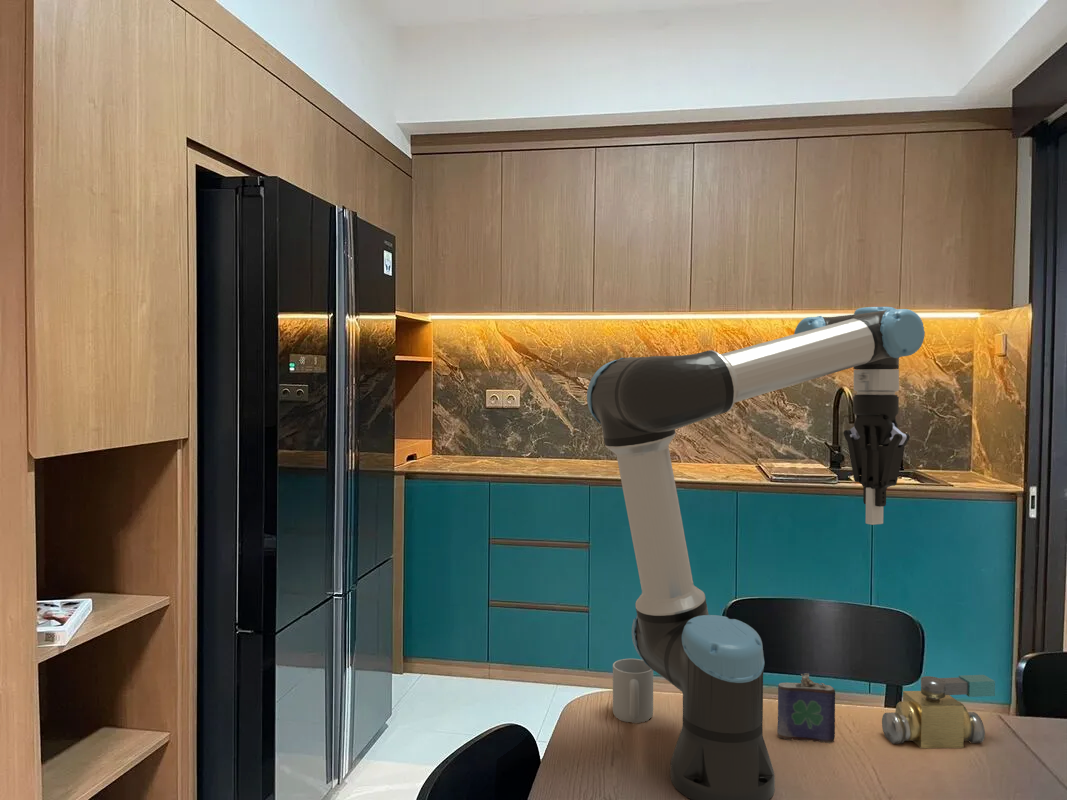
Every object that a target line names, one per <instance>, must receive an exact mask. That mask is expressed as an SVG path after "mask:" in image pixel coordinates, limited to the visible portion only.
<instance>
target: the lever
mask: <svg viewBox="0 0 1067 800" xmlns="http://www.w3.org/2000/svg"><path fill="white" fill-rule="evenodd" d="M920 691H921V693H922V694H923V695H925V696H927V697H931V698H944V697H945V695H950V696H959V695H960V696H961V695H965V696H967V697H969V698H974V697H975V698H977V697H995V696H996V680H994V679H992V678H990V677H988V676H987V675H985V674H972V675H971V674H970V675H969V674H967V675H965V674H964V675H963V674H962V675H958V676H957V677H936V676H927V675H926V676H925V675H924V676H921V677H920Z"/></svg>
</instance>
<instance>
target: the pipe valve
mask: <svg viewBox="0 0 1067 800" xmlns="http://www.w3.org/2000/svg"><path fill="white" fill-rule="evenodd" d="M894 711H895V712H883V715H882V718H881V726H882V727H881V728H882V731H883V735H884V737H885V738H886V739H887V740H888V741H889V742H890V743H891V744H892V745H893V744H896V745H897V744H899V745H900V744H904V743H905V742H914V744H916V745H917V746H918V747H919V748H920V749H964V741H966V742H969V741H970V742H971V744H981V743H983V742H984V741H985V737H986V731H985V726H984V722H983V720H982V717H981V716H980V715H979V714H978V713H976V712H975V711H968V709H967V708H966V706H965V705H964V703H962V702H961V701H959V700H957V699H955V698H954V697H953V696H952V695H945V697H944V698H931V697H927V696H925V695H923V694H922V693H921V690H903V691H902V701H899V702H898V703H897V704H896V706H895V710H894ZM970 742H969V743H970Z"/></svg>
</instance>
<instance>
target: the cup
mask: <svg viewBox="0 0 1067 800" xmlns="http://www.w3.org/2000/svg"><path fill="white" fill-rule="evenodd" d="M612 713H613V715H614V717H615V718H616V719H617V718H618V719H617V720H619V721H621V722H624V723H628V722H632V723H631V724H641V722H642V723H645V721H646V722H648V721H650V720H651V719H652V718H653V714H654V670H652V669H651V668H650V667H648V665H647V664H646V663H645V662H644V661H643V660H642V659H641V658H640V659H639V658H623V659H618V660H616V661H614V662H613V663H612ZM650 718H651V719H650ZM649 719H650V720H649Z"/></svg>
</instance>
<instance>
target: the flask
mask: <svg viewBox="0 0 1067 800" xmlns="http://www.w3.org/2000/svg"><path fill="white" fill-rule="evenodd" d="M800 676H801V680H800V682H779V684H778V685H777V736H778V738H779V739H783V740H787V741H799V742H800V741H801V742H811V741H812V742H814V743H816V742H818V743H827V744H833V743H835V739H836V725H835V723H836V689H835V688H834V687H833V686H831V685H830V684H829V685H828V684H825V683H823V682H819V683H818V682H814V681H813V680H811V678H810V673H807V672H806V673H800Z"/></svg>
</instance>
